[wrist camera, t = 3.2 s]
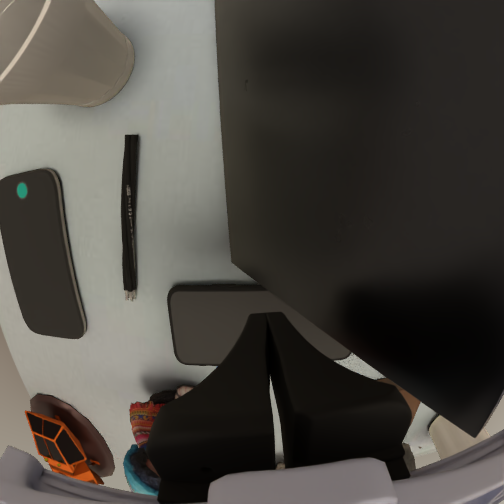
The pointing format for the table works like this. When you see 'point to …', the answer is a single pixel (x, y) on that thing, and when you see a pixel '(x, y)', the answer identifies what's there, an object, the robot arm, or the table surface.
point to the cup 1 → (61, 53)
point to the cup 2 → (452, 437)
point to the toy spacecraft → (68, 440)
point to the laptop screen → (375, 181)
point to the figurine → (136, 459)
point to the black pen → (128, 215)
